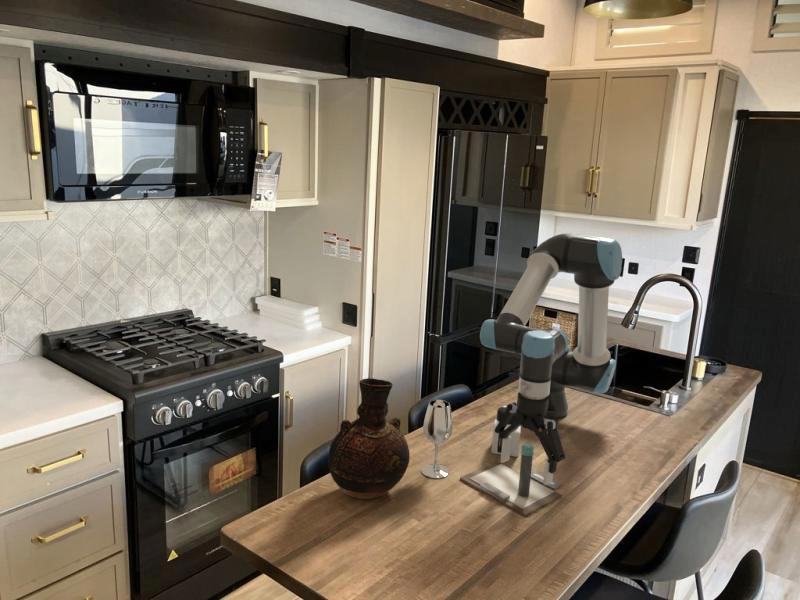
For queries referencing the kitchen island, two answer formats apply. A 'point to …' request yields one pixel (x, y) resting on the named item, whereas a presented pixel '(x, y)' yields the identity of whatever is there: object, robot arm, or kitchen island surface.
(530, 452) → the marker
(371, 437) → the ceramic vessel
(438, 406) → the wineglass
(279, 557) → the kitchen island surface
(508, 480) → the clipboard
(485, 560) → the kitchen island surface
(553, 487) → the plate
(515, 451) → the container
